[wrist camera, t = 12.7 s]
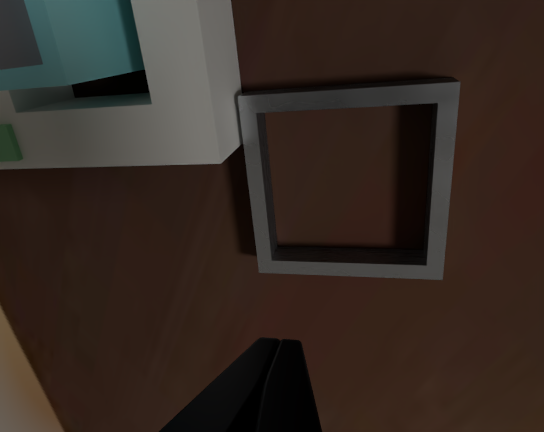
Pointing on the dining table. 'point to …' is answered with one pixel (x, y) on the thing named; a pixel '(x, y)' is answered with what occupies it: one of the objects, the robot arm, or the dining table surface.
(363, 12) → the dining table surface
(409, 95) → the open square ring
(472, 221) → the dining table surface
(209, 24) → the frame
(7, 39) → the plug
